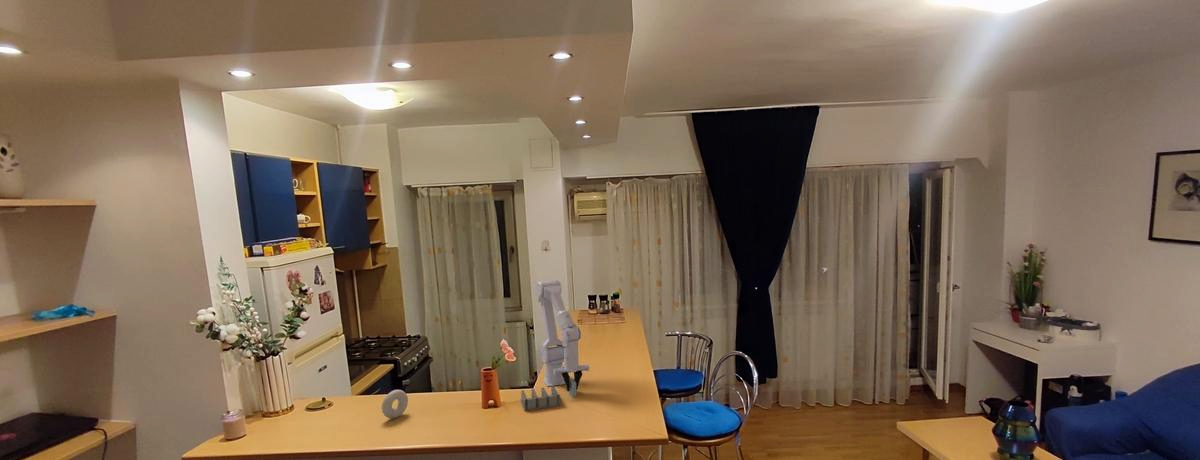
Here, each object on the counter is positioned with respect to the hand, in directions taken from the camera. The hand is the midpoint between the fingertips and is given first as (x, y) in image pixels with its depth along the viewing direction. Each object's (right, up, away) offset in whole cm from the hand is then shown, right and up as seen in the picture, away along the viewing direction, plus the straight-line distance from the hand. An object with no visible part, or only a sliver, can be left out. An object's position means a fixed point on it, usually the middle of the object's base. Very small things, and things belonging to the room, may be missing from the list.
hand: (572, 389), depth 188 cm
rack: (-12, -2, -9) cm, 15 cm away
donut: (-63, -4, -19) cm, 66 cm away
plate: (0, -2, 0) cm, 2 cm away
